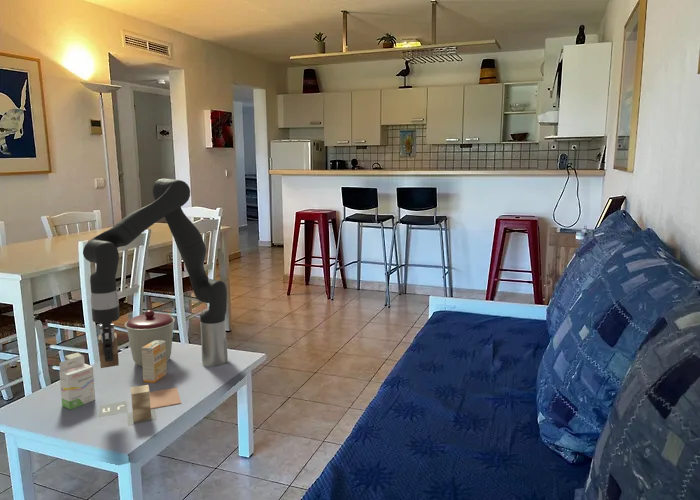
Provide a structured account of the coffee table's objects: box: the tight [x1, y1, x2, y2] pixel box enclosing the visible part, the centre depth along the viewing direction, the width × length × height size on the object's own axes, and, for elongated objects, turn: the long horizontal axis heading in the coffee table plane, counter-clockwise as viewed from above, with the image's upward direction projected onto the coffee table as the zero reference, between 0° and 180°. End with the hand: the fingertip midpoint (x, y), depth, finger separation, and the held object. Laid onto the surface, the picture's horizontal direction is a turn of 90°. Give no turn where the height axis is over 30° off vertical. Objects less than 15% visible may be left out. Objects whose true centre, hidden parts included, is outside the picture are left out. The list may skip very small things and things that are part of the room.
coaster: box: [149, 387, 182, 409], centre depth 166 cm, size 12×12×1 cm
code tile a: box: [98, 400, 128, 418], centre depth 159 cm, size 8×8×1 cm
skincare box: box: [64, 352, 86, 365], centre depth 171 cm, size 6×4×12 cm
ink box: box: [58, 354, 96, 410], centre depth 162 cm, size 9×5×15 cm, turn 148°
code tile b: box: [126, 408, 158, 426], centre depth 154 cm, size 8×8×1 cm
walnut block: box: [97, 332, 120, 369], centre depth 156 cm, size 5×5×9 cm
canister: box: [124, 309, 176, 367], centre depth 194 cm, size 18×18×21 cm
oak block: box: [130, 384, 151, 422], centre depth 154 cm, size 5×5×9 cm
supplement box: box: [141, 340, 168, 384], centre depth 181 cm, size 8×5×13 cm, turn 168°
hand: (109, 357), depth 156 cm, fingers closed on walnut block, 5 cm apart
